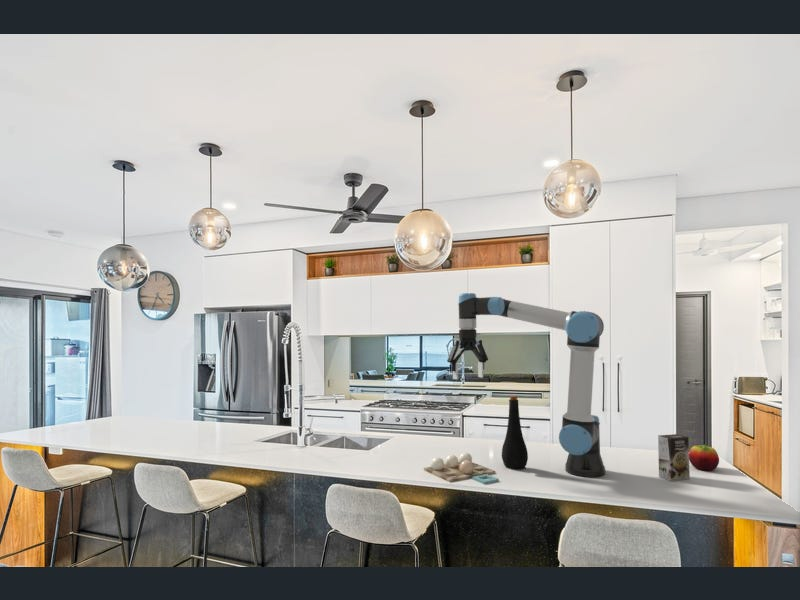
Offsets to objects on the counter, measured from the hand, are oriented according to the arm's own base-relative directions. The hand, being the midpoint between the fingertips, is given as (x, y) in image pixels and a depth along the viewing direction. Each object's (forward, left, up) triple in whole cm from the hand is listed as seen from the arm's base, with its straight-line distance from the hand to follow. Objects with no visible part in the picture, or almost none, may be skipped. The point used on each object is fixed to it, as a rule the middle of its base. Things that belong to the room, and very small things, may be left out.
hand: (468, 378), depth 214 cm
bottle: (-15, -12, -37) cm, 42 cm away
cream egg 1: (-4, +19, -36) cm, 41 cm away
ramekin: (-23, +10, -37) cm, 44 cm away
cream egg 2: (-4, +12, -36) cm, 38 cm away
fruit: (-54, -79, -37) cm, 103 cm away
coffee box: (-55, -57, -37) cm, 87 cm away
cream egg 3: (-4, +5, -36) cm, 36 cm away
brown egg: (-14, +12, -36) cm, 40 cm away
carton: (-9, +12, -37) cm, 40 cm away
